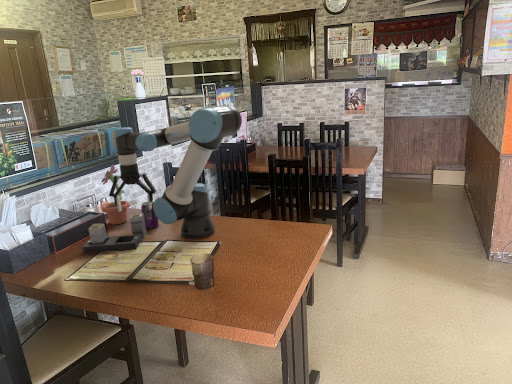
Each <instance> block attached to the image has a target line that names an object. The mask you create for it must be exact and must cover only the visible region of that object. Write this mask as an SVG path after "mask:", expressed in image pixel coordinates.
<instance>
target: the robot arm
mask: <svg viewBox="0 0 512 384" xmlns="http://www.w3.org/2000/svg"><path fill="white" fill-rule="evenodd" d="M242 123H243V117H242V115H241V113H240V111H239V110H238V109H237V108H236V107H235V106H232V105H229V104H224V105H219V106H206V107H203V108H199V109H197V110H195V111H194V112H193V113H192V114H191V116H190V117H189V121H185V122H182V123H179V124H175V125H171V126H168V127H164V128H160V129H155V130H148V131H144V132H143V131H142V132H134V130H133V127H130V126H129V127H119V128H116V129H114V140H115V144H116V145H115V146H116V151H117V158H118V164H119V170H120V174H115V175H114V182H113V183H112V186H111V188H110V191H109V194H108V197H110V198H111V197H112V198H113V199H114V201H113V202H115V204H117V206H118V212H120V211H121V210H122V208H121V202H120V196H118V194H119V193H120V191H121V190H123V188H124V187H125V185H127V186H130V185H137V186H138V187H140V188H141V189H142V190H143V191H144V192H145V193H146V194H147V196H146V198H147V202H148V205H149V209H151V208H152V204H151V202H154V204H153V209H154V212H155V215H156V216H157V218H158V221H159V222H161V223H162V224H165V225H171V224H174V223H177V222H178V221H181V220H182V219H183V220H182V224H181V230H180V232H181V234H180V235H181V237H183V238H185V239H188V240H189V239H190V240H199V239H203V238H208V237H210V236H212V235H213V234H215V232H216V229H215V228H216V227H215V223H214V222H213V219H212V218H211V216H210V209H209V208H210V207H209V198H208V190H207V189H208V188H207V186H206V184H204V183H200V182H199V183H198V181H199V179H200V177H201V176H202V173H203V171H204V169H205V166H206V165H207V163H208V160H209V159H210V157H211V154H212V153H213V151H217V150H218V149H219V147H220V145H221V144H222V142H223V139H225V138H227V137H231V136H234V135H235V134H237V133H238V132H239V131H240V129H241V127H242ZM186 141H190V143H189V145H188V148H187V150H186V152H185V155H184V156H183V159H182V160H181V162H180V165H179V168H178V170H177V171H176V174H175V176H174V178H173V180H172V181H173V182H172V183H171V184H170V185H168V186H166V187H165V190H164V192H163V194H162V196H161V197H157V198H156V199H155V200H154V194H156V192H157V189H156V188H155V186H154V185H153V184H152V182H151V180H150V179H149V178H148V176H147V173H146V172H144V173H140V172H139V166H138V165H139V164H138V158H137V157H138V156H137V152H143V153H146V152H152V151H154V150H155V149H157V148H162V147H166V146H171V145H173V144H178V143H182V142H183V143H184V142H186ZM140 178H141V179H143V181H144V182H145V184H144V183H143V182H142V180H141V179H140ZM119 180H121V181H122V182H121V184H120V186H119V188H118V190H116V185H117V184H118V182H119ZM146 185H147V186H146ZM115 190H116V192H115Z"/></svg>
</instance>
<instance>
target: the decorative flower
mask: <svg viewBox="0 0 512 384" xmlns="http://www.w3.org/2000/svg"><path fill="white" fill-rule="evenodd" d="M117 171H118V169H117V168H116V166H115V164H112V165H111V166H110V168H109V169H108V170H107V171H106V172H105V174H104V177H102V179H101V183H102V185H105V184H107V183H108V182H109V180H110V181H111V183H112V184H113V182H114V176H115V175H114V174H116V173H117ZM119 187H120V186H119V184H118V183H117V185H116V188H115V190H116V191H117V190H118V188H119ZM124 193H125V190H123V189H122V190H121V191H120V193H119V194H118V196H120V202H121V208H122V210H121V211H120V212H118V206H117V204H115V201H112V202H108V203H106V204H104V205H102V207H101V212H103V213H106V214H107V217H108V220H109V223H110V224H111V225H120V224H125V222H127V221H128V210H127V209H129V208H130V207H131V203H130V202H129V201H127V200H122V199H123V195H122V194H124Z"/></svg>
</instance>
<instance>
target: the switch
mask: <svg viewBox="0 0 512 384" xmlns="http://www.w3.org/2000/svg"><path fill="white" fill-rule="evenodd" d="M88 233H89V239H88V240H87V241H86V242H85V243H84V245H83V246H81V247H82V248H81V249H82V254H85V255H86V254H98V253H106V252H107V253H108V252H109V253H110V252H119V251H132V249H133V250H137V249H138V248H139V246H140V244H141V243H142V239H143V238H141V234H134V235H133V234H126V235H123V234H122V235H113V236H107V231H106V225H105V223H102V222H101V223H93V224H91V226H90V227H89V228H88ZM139 243H140V244H139ZM138 245H139V246H138Z"/></svg>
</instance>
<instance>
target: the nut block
mask: <svg viewBox="0 0 512 384" xmlns="http://www.w3.org/2000/svg"><path fill="white" fill-rule="evenodd" d="M129 222H130V228H131V232H132V234H131V235H134V234H141V239H143V238H144V239H145V238H146V235H147V234H148V233H147V228H146V226H145V218H144V213H142V212H137V213H136V212H135V213H132V214H131V216H130V217H129Z"/></svg>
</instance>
